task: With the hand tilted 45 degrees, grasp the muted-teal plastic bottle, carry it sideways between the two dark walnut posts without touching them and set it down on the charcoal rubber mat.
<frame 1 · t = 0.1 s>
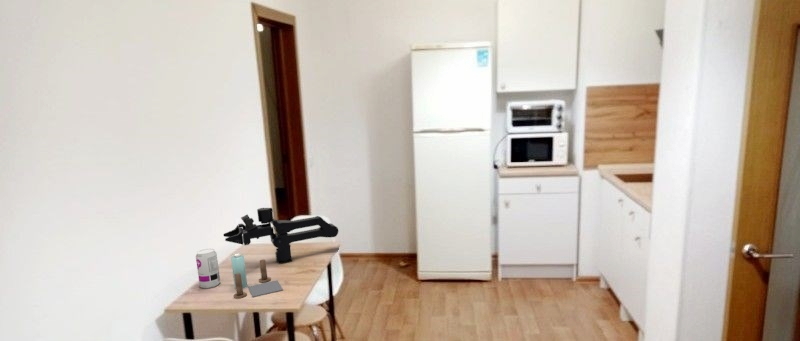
hand: (224, 237, 208), 17 cm above the table, tool horizontal, fingers open, 9 cm apart
charcoal rubber mat: (265, 288, 187), on the table
teal bottle: (241, 286, 191), on the table
supplement can: (210, 285, 196), on the table
walnut gate posts: (253, 287, 189), on the table
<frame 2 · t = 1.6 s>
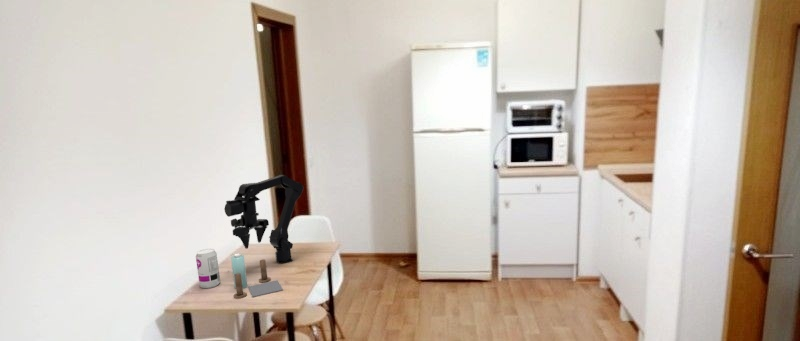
hand: (253, 245, 208), 12 cm above the table, tool pointing down, fingers open, 9 cm apart
nothing on the table moved.
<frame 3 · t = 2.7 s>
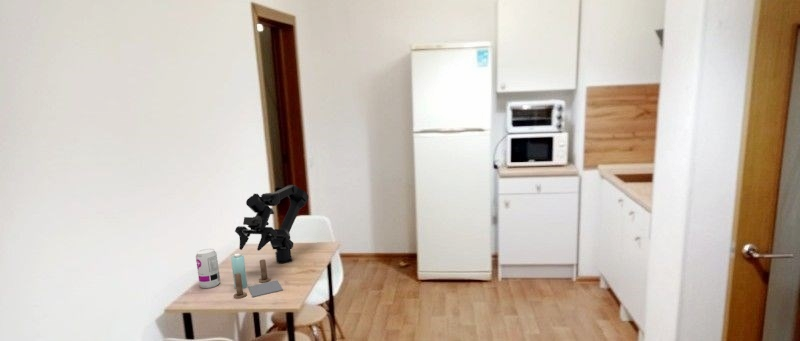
hand: (249, 249, 197), 13 cm above the table, tool tilted 45°, fingers open, 9 cm apart
nothing on the table moved.
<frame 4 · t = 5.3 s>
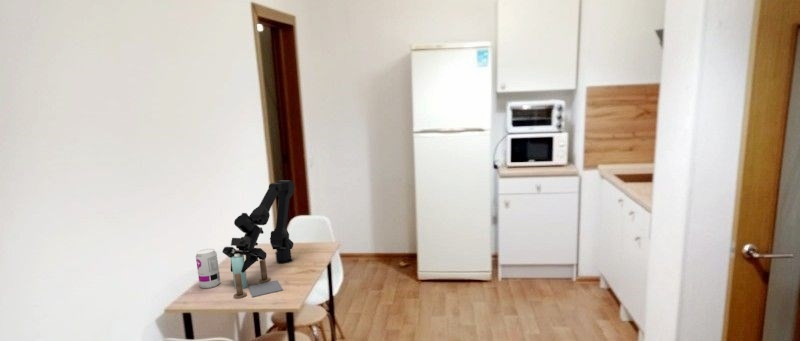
hand: (236, 271, 189), 7 cm above the table, tool tilted 45°, fingers closed on teal bottle, 5 cm apart
teal bottle: (241, 286, 191), on the table, touching gripper
everything else where it was.
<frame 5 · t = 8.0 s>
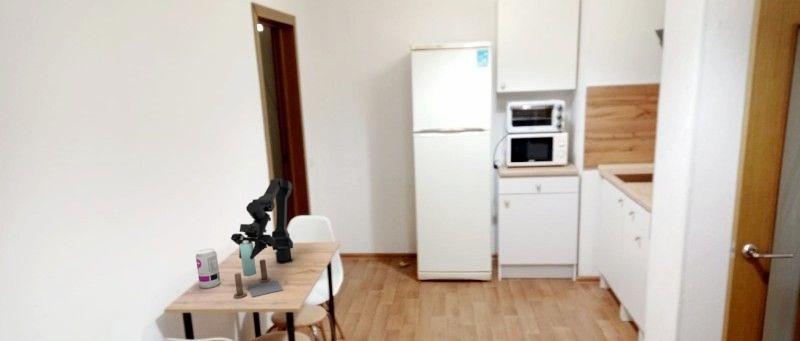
hand: (245, 258, 186), 13 cm above the table, tool tilted 45°, fingers closed on teal bottle, 5 cm apart
teal bottle: (249, 274, 188), point 6 cm above the table, touching gripper
everything else where it was.
when the fingers open (8 cm above the table, at t = 10.7 s): teal bottle stays where it is, resting on charcoal rubber mat.
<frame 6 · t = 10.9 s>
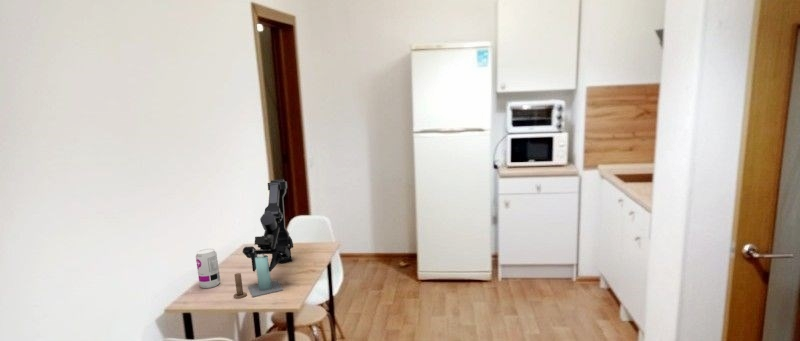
hand: (261, 271, 184), 8 cm above the table, tool tilted 45°, fingers open, 7 cm apart
teal bottle: (265, 287, 187), resting on charcoal rubber mat
everything else where it was.
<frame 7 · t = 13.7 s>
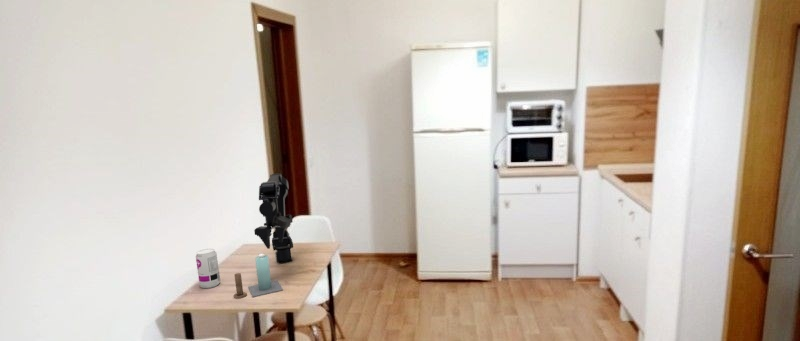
hand: (275, 245, 202), 13 cm above the table, tool pointing down, fingers open, 9 cm apart
nothing on the table moved.
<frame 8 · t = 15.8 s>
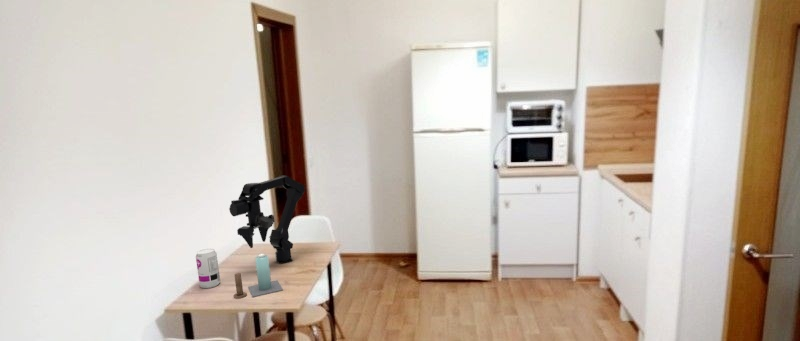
hand: (257, 244, 209), 12 cm above the table, tool pointing down, fingers open, 9 cm apart
nothing on the table moved.
at the end: teal bottle 0.0 cm from the charcoal rubber mat (horizontally); teal bottle tilted 0°; teal bottle touching charcoal rubber mat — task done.
